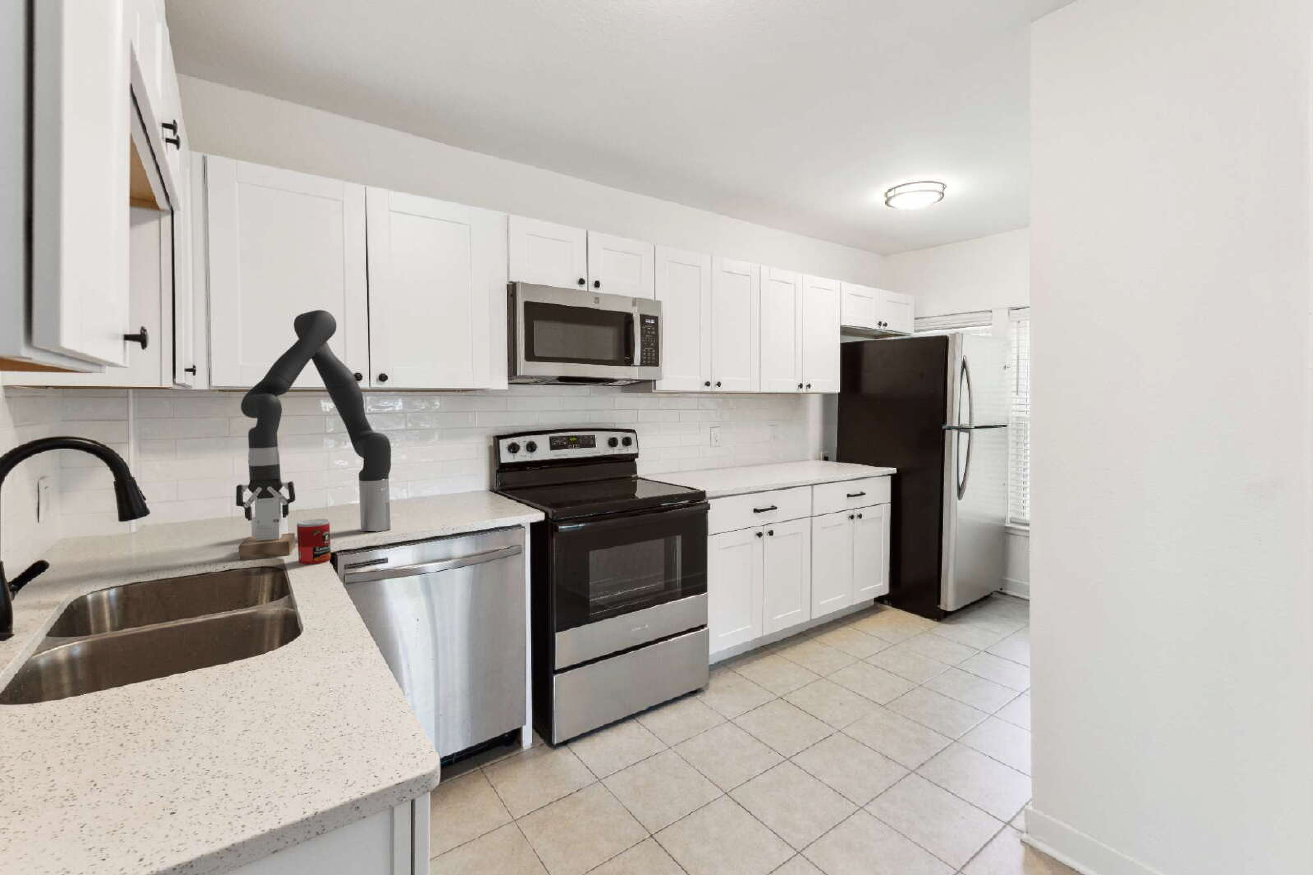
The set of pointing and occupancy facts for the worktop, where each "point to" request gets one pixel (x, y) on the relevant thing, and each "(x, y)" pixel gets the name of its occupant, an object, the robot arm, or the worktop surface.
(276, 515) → the skincare box
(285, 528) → the medicine bottle
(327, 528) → the canned food
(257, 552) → the walnut base
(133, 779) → the worktop surface
